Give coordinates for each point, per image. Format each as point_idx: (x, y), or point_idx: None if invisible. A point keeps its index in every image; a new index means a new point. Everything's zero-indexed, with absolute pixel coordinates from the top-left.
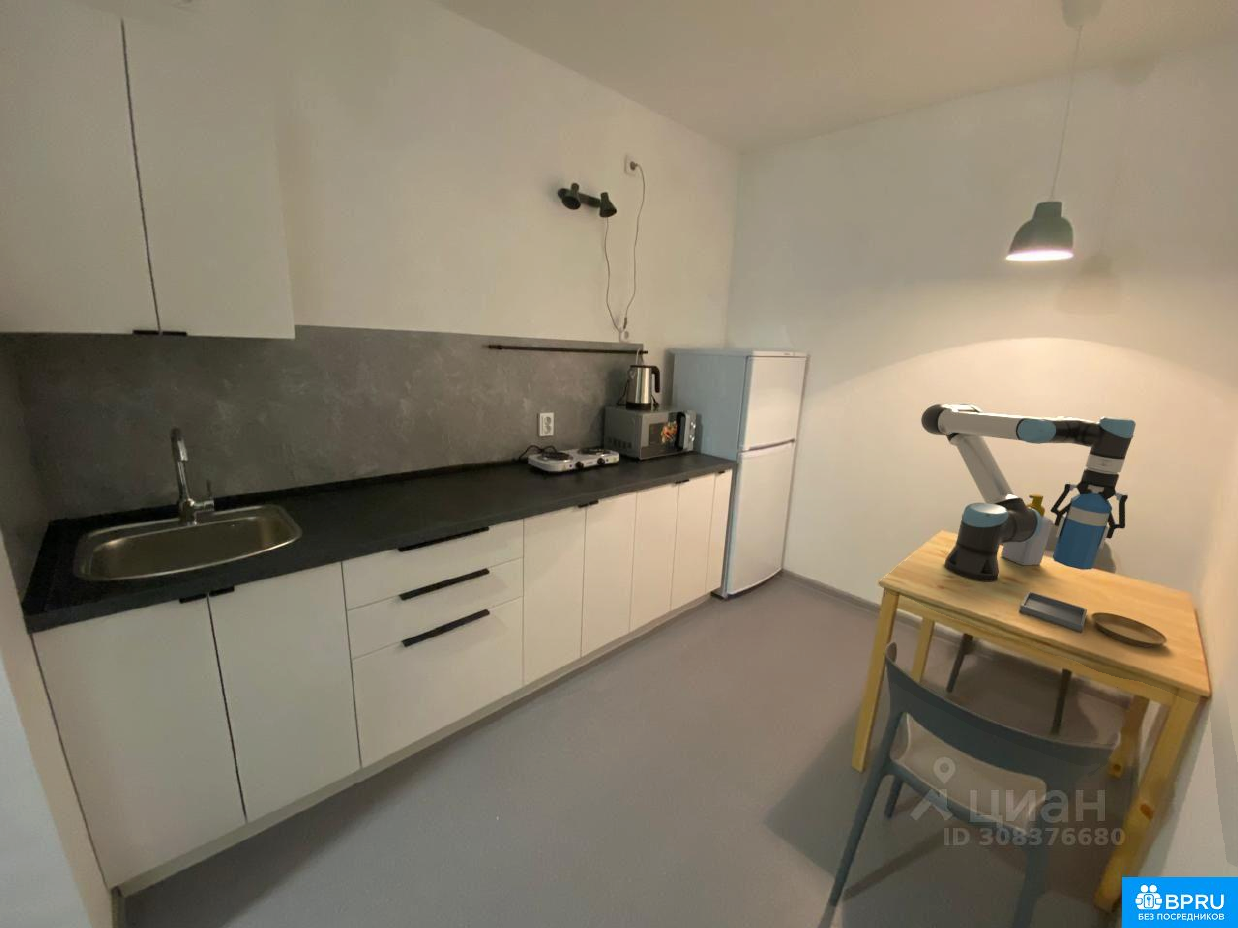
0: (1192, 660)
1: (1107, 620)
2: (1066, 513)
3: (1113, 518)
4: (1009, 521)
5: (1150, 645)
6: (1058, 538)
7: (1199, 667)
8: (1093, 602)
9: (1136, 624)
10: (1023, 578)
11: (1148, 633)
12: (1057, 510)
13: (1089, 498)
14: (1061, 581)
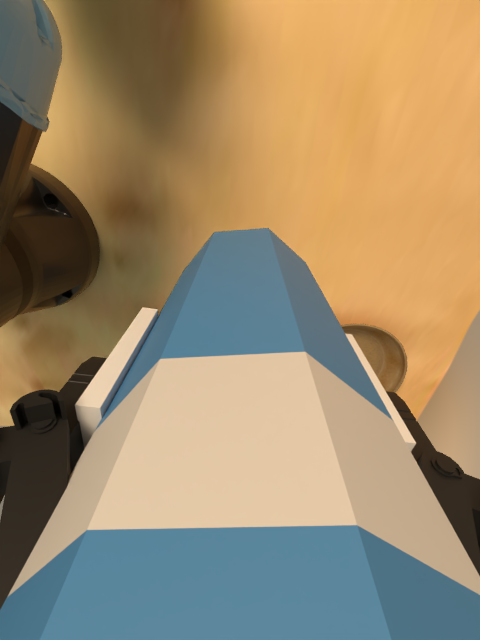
0: (421, 390)
1: None
2: (86, 448)
3: (469, 548)
4: None
5: None
6: (161, 311)
7: (419, 407)
8: (323, 218)
9: (375, 330)
10: (152, 164)
11: (387, 344)
12: (4, 494)
13: None
14: (259, 68)
